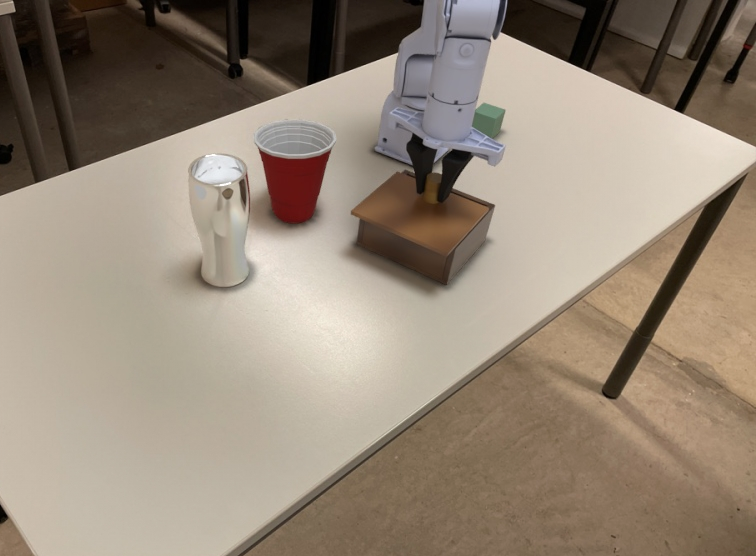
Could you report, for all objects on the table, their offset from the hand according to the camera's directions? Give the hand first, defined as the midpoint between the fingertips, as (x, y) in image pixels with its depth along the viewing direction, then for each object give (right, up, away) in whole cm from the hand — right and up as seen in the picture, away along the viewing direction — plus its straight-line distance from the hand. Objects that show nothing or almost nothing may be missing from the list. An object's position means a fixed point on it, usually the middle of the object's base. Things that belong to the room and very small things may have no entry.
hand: (432, 194), depth 85 cm
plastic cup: (-18, 0, +9) cm, 20 cm away
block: (+14, +16, +26) cm, 34 cm away
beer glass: (-27, -10, 0) cm, 28 cm away
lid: (-2, -3, -1) cm, 3 cm away
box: (-1, -5, +5) cm, 7 cm away
